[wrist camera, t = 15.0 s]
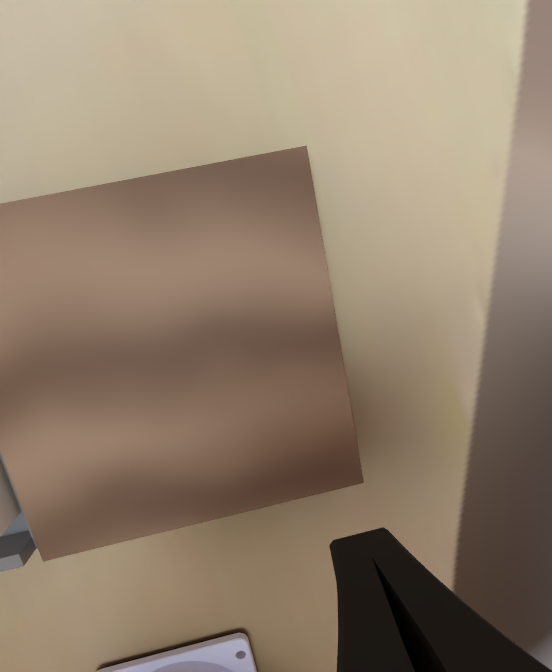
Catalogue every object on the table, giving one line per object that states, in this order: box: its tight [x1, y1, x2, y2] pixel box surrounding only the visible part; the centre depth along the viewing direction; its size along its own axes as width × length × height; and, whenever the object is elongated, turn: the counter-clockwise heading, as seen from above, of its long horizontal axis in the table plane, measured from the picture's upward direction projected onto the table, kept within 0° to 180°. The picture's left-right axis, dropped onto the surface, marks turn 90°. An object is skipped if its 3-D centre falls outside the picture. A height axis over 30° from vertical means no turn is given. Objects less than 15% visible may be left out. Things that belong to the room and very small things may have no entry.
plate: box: [0, 146, 364, 561], centre depth 16 cm, size 14×14×2 cm
